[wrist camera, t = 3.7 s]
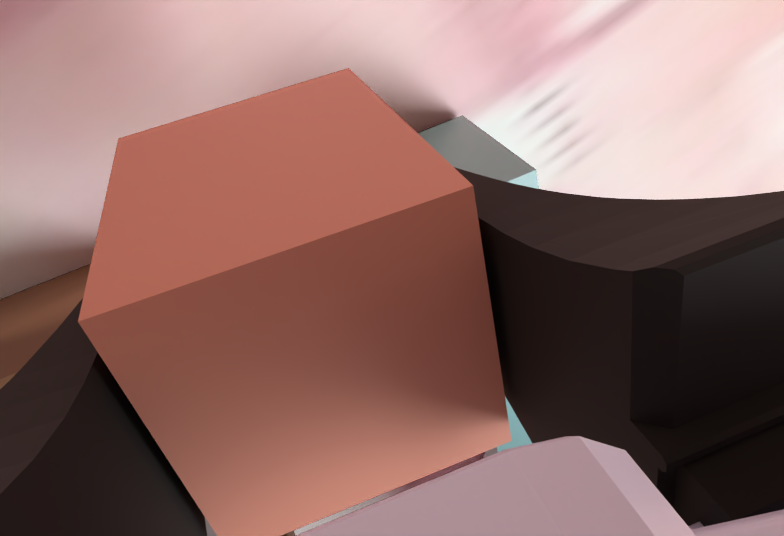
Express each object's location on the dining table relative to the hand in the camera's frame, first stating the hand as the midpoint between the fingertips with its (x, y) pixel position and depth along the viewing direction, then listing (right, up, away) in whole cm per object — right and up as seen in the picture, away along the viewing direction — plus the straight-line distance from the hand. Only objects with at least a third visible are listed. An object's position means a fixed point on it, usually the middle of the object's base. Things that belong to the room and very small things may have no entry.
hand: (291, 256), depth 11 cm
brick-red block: (-1, +1, +2) cm, 2 cm away
